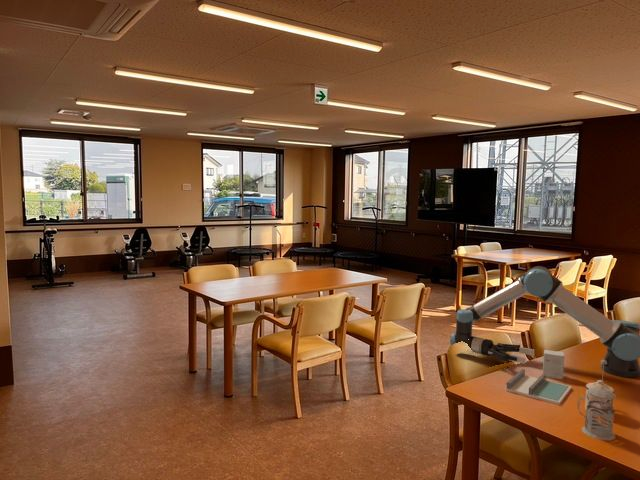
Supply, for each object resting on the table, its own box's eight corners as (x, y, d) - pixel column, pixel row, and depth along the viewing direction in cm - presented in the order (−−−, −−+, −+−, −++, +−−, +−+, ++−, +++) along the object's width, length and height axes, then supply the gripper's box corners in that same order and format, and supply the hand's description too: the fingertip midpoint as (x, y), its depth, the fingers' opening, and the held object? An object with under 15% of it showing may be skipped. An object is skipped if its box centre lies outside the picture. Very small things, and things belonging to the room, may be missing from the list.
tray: (571, 388, 197) (571, 380, 197) (559, 404, 182) (559, 395, 181) (521, 376, 209) (522, 368, 209) (506, 390, 194) (506, 382, 194)
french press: (619, 442, 155) (625, 366, 152) (579, 436, 158) (584, 362, 156) (610, 428, 164) (616, 356, 162) (573, 423, 167) (578, 352, 165)
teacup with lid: (608, 419, 170) (610, 387, 169) (580, 411, 177) (582, 380, 176) (618, 409, 179) (620, 379, 177) (591, 401, 185) (593, 372, 184)
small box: (562, 375, 212) (564, 352, 211) (563, 379, 207) (564, 356, 206) (542, 372, 215) (543, 349, 214) (542, 376, 210) (543, 353, 209)
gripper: (491, 347, 240) (537, 357, 226) (472, 360, 220) (520, 372, 207) (492, 333, 239) (538, 342, 226) (473, 344, 220) (521, 355, 206)
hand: (529, 356), depth 216 cm, fingers open, 13 cm apart
